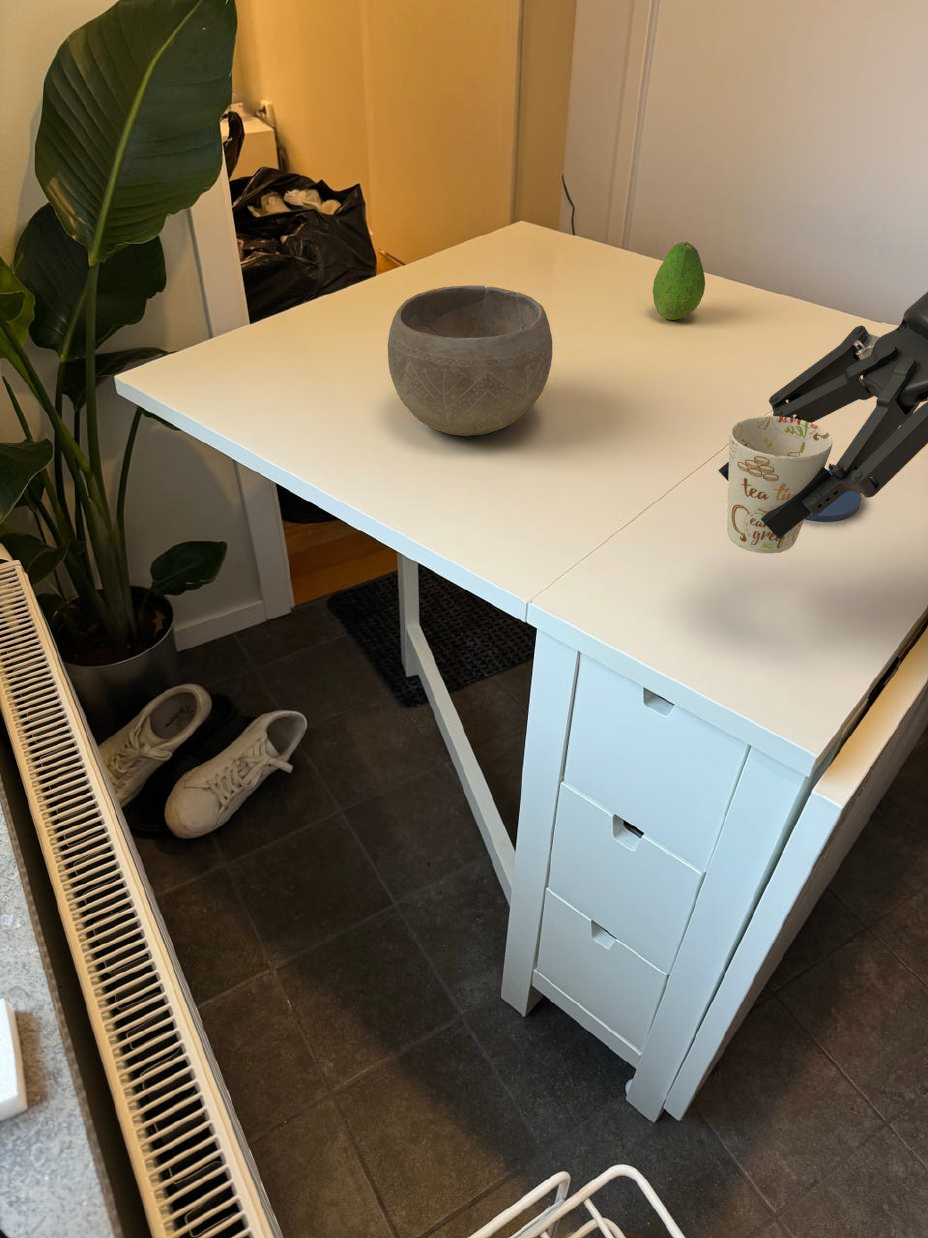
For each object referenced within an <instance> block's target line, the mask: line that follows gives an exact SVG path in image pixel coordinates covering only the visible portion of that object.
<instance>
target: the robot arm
mask: <svg viewBox="0 0 928 1238" xmlns="http://www.w3.org/2000/svg"><path fill="white" fill-rule="evenodd" d="M873 397H875V398H876V401H875V403H876V405H875V407H874V409H873V410H872V412H870V415H869V416H868V417H867V419H866V420H865V422H864V423H863V425H862V426H861V428H860V429H859V431H858V432H857V434H855V436H854V438H853V439H852V441H851V442H850V444H849V445H848V447H847V448H846V450H845V451H844V452H843V454H842V455H841V457H840V458H839V460H838V461H837V462H836V464H831V463H829V464H828V469H827V468H825V467H822V468H821V469H820V471H819V472H818V473H817V475H816V476H815V477H814V478H813V479H812V481H811V482H810V483H809V484H808V485H807V486H806V487H805V488H804V489H803V490H802V491H800V492H799V493H798V494H797V495H796V496H794V497H793V498H792V499H790V500H789V501H787V502H786V503H784V504H783V505H781V506H779V507H778V508H776V509H774V510H771V511H769V512H768V513H767V514H766V515H765V516H763V517H762V518H761V520H762V521H763V523H764V524H765V525H766V526H767V527H768V528H769V529H770V530H771V531H772V532H773V533H774V534H775V535H776V536H777V537H778V538H779V539H780V538H781V537H783V536H784V535H785V534H786V533H788V532H789V531H790V530H791V529H792V528H794V527H795V526H796V525H797V524H799V523H800V522H801V521H802V520H803V519H804V520H806V519H805V518H806V517H807V516H808V515H810V514H811V513H812V514H813V515H816V514H819V513H821V512H822V511H823V510H824V509H825V508H827V507H828V506H829V505H830V504H832V503H833V502H834V501H835V500H837V499H838V498H839V497H840V496H841V495H843V494H844V493H846V492H848V491H855V492H858V493H860V495H863V497H864V498H867V499H868V498H873V497H874V496H876V495H877V494H878V493H879V492H880V491H881V490H882V489H883V488H884V487H885V486H886V485H887V484H888V483H889V482H890V481H891V480H892V479H894V477H895V476H896V475H897V474H898V473H899V472H901V470H902V469H903V468H905V466H907V465H908V463H910V462H911V460H912V459H913V458H914V457H915V456H917V454H919V453H920V452H921V451H922V449H923V448H925V447H926V446H927V445H928V291H926V292H925V293H924V294H923V295H921V296H920V297H919V298H918V299H917V300H916V301H915V302H913V304H911V305H910V306H909V307H908V308H907V309H905V311H904V313H903V316H902V320H901V322H900V324H899V326H897V327H896V328H895V329H893V330H891V331H890V332H887V333H885V334H883V335H881V336H878V335H875V334H871V333H869V332H868V330H867V328H866V326H864V325H858V326H855V327H854V328H853V329H852V330H851V331H850V333H849V334H848V335H847V336H846V337H845V338H844V340H843V341H842V342H841V343H840V344H839V345H837V346H836V347H835V348H834V349H832V350H831V351H830V352H828V353H827V354H826V355H824V356H823V357H822V358H820V359H819V360H818V361H816V362H815V363H813V364H812V365H810V366H809V367H808V368H807V369H805V370H804V371H803V372H802V373H800V374H799V375H798V376H796V377H795V378H793V379H792V380H791V381H789V382H788V383H787V384H785V385H784V386H783V387H781V388H780V389H778V391H776V392H775V393H773V394H772V395H771V396H770V397H769V399H768V403H769V405H770V406H771V408H772V412H773V414H772V416H779V417H788V418H794V419H799V420H803V421H806V422H809V423H812V424H814V422H817V421H819V420H821V419H823V418H824V417H826V416H829V415H830V414H832V413H834V412H836V411H838V410H840V409H843V408H844V407H846V406H848V405H850V404H852V403H854V402H857V401H859V400H861V401H867V400H869V399H872V398H873ZM921 403H923V404H922V405H921V406H920V404H921ZM919 406H920V407H919ZM826 469H827V470H830V471H831V473H832V475H831V474H830V473H829V472H828V471H827V470H826ZM718 472H719V473H720V475H721V476H723V478H724V479H725V480H726V481H727V482H728V477H729V460H728V461H727V462H726V463H725V464H724V465H723V466H722V467H720V468H719V469H718Z"/></svg>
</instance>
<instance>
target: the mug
mask: <svg viewBox="0 0 928 1238" xmlns="http://www.w3.org/2000/svg"><path fill="white" fill-rule="evenodd" d="M728 441H729V442H728V448H729V449H728V461H729V477H728V481H727V482H728V483H727V484H728V485H727V486H728V487H727V520H726V521H727V522H726V523H727V524H726V525H727V528H726V529H727V530H726V532H727V536H728V539H729V541H731V542H732V543H733V544H734V545H735V546H737V547H739V548H741V549H743V550H746V551H749V552H753V553H756V554H757V553H758V554H765V555H766V554H778V553H784V552H786V551H788V550H790V549H791V548H793V546H794V545H795V543H796V541H797V539H798V537H799V534H800V532H801V529H802V527H803V524H804V523H805V522H804V521H805V519H803V520H802V521H801V522H800V523H799V524H797V525H796V526H795V527H794V528H792V529H791V530H790V531H789V532H788V533H786V534H785V535H784V536H783V537H781V538H780V539H779V538H778V537H777V536H776V535H775V534H774V533H773V532H772V531H771V530H770V529H769V528H768V527H767V526H766V525H765V524H764V523H763V521H762V520H761V518H762V517H763V516H765V515H766V514H767V513H768V512H769V511H771V510H774V509H776V508H778V507H779V506H781V505H783V504H784V503H786V502H787V501H789V500H790V499H792V498H793V497H794V496H796V495H797V494H798V493H799V492H800V491H802V490H803V489H804V488H805V487H806V486H807V485H808V484H809V483H810V482H811V481H812V479H813V478H814V477H815V476H816V475H817V473H818V472H819V471H820V469H821V468H822V467H824V468H825V467H826V465H827V463H828V460H829V457H830V454H831V451H832V448H833V438H832V436H831V434H830V433H829V432H828V431H827V430H825V429H824V428H822V427H821V426H819V425H817V424H814V423H809V422H806V421H803V420H799V419H794V418H788V417H779V416H773V415H765V416H764V415H763V416H754V417H750V418H746V419H743V420H741V421H738V422H736V423H735V424H734V425H733V426H732V427H731V429H730V433H729V440H728Z"/></svg>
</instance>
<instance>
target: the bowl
mask: <svg viewBox="0 0 928 1238" xmlns="http://www.w3.org/2000/svg"><path fill="white" fill-rule="evenodd" d="M387 361H388V370H389V374H390V378H391V382H392V384H393V387H394V388H395V389H394V390H395V391H396V394H397V396H398V397H399V399H400V400H401V402H402V403H403V405H404V406H405V407H406V408H407V409H408V411H409V413H410V414H412V415H413V416H414V417H415V418H416V420H418V421H420V422H422V424H424V425H425V426H427V427H429V428H431V429H433V430H436V431H438V432H441V433H444V434H447V435H452V436H453V435H454V436H461V437H462V436H463V437H471V436H482V435H487V434H490V433H493V432H496V431H499V430H502V429H504V428H507V427H508V426H510V425H511V424H513V423H515V422H516V421H517V420H519V419H520V418H521V417H523V416H524V415H525V414H526V413H527V412H528V410H530V409H531V408H532V407H533V406H534V404H535V403H536V402H537V400H538V399H539V398H540V396H541V395H542V393H543V391H544V389H545V387H546V384H547V382H548V379H549V375H550V371H551V367H552V362H553V336H552V332H551V326H550V323H549V319H548V316H547V313H546V310H545V308H544V306H543V305H541V304H540V303H539V302H538V301H537V300H535V299H534V298H533V297H532V296H529V295H526V294H524V293H522V292H517V291H514V290H511V289H510V290H509V289H506V288H502V287H495V286H485V285H452V286H443V287H440V288H434V289H429V290H426V291H422V292H420V293H417V294H415V295H413V296H411V297H410V298H408V299H406V300H405V301H404V302H403V303H402V304H401V305H400V306H399V308H398V309H397V310H396V312H395V314H394V316H393V317H392V321H391V325H390V327H389V334H388V337H387Z"/></svg>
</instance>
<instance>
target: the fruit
mask: <svg viewBox="0 0 928 1238" xmlns="http://www.w3.org/2000/svg"><path fill="white" fill-rule="evenodd" d="M652 285H653V286H652V295H653V296H652V298H653V304H654V307H655V309H656V312H658V314H659V315H660V316H661V317H663V318H664V319H665V320H671V321H676V320H682V319H683V318H685V317H688V316H689V315H690V314H692V313H693V312H694V311H695V310H696V309H697V308H698V307H699V304H700V303H701V300H702V299H703V296H704V293H705V288H706V277H705V272H704V267H703V263H702V261H701V257H700V255H699V252H698V250H697V249H696V247H695V246H694V245H693V244H691V243H689V242H688V241H683V242H677V243H676V244H675V245H674V246H672V247H671V248H670V249H669V251H668V252H667V254H666V255H665V258H664V259H663V262H662V263H661V265H660V266H659V268H658V270H657V272H656V274H655V276H654V279H653V284H652Z"/></svg>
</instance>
